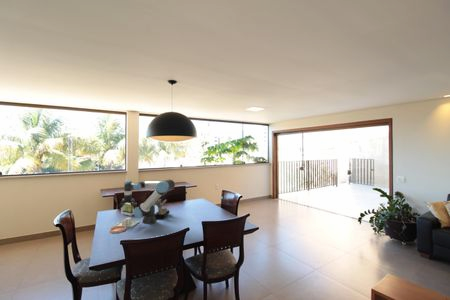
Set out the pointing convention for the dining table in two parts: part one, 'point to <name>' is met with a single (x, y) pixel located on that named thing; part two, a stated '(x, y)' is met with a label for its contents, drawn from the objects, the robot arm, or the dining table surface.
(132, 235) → the dining table surface
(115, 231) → the bowl
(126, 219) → the cream rectangular block
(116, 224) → the parts tray
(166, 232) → the dining table surface
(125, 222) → the pale grey block
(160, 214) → the coral
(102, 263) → the dining table surface
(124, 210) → the tea box
